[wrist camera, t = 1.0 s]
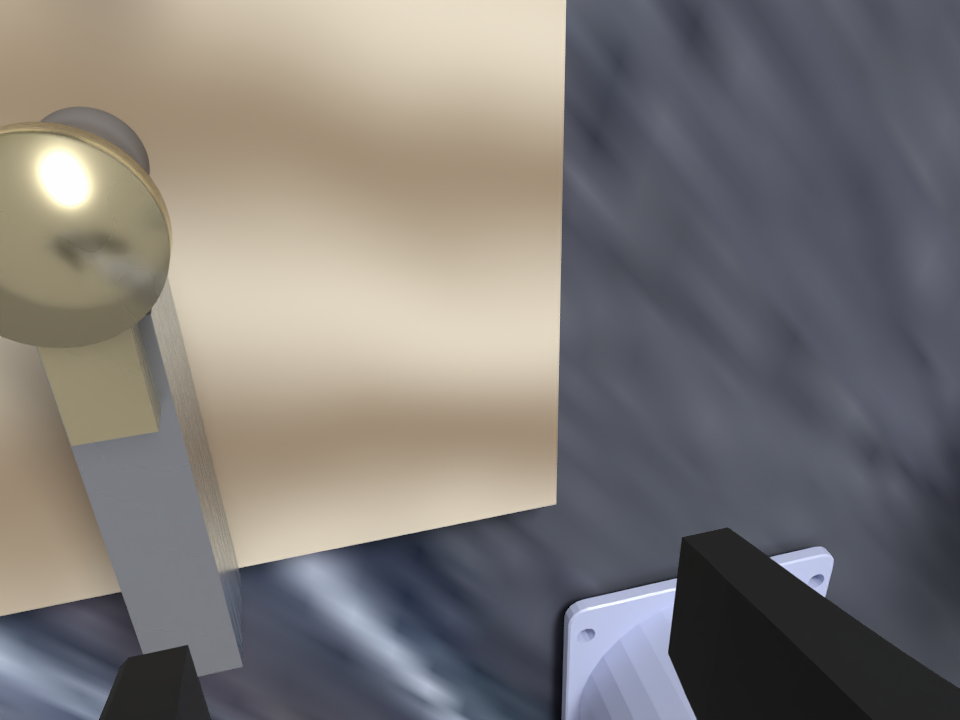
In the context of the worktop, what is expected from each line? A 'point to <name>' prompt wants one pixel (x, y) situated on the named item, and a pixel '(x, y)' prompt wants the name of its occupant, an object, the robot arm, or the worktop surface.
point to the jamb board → (314, 262)
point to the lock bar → (120, 378)
